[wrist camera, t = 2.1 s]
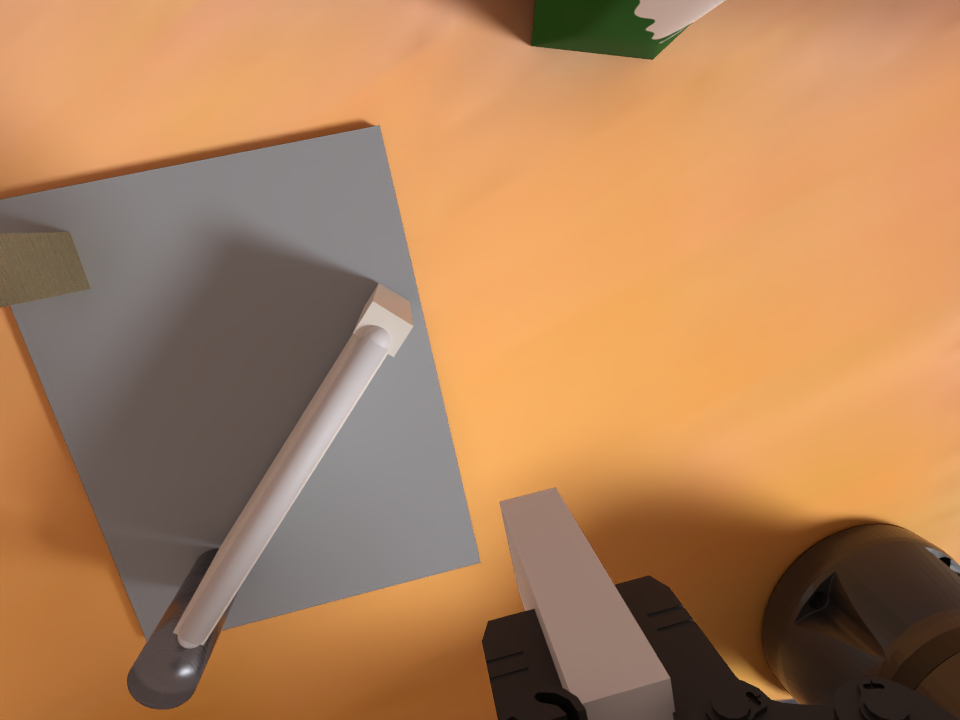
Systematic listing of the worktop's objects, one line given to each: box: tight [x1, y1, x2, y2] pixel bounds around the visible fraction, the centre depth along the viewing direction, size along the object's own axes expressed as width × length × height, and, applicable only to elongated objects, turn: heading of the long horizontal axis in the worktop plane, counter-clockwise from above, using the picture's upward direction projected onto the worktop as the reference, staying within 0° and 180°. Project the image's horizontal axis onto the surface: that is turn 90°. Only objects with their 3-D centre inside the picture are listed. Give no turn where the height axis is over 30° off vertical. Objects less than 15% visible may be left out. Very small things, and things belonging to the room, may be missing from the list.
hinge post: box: [127, 548, 240, 709], centre depth 32 cm, size 3×3×10 cm
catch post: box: [0, 232, 91, 308], centre depth 27 cm, size 3×2×10 cm
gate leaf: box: [173, 283, 413, 648], centre depth 30 cm, size 18×2×9 cm, turn 147°
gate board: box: [0, 125, 481, 641], centre depth 34 cm, size 27×21×1 cm
